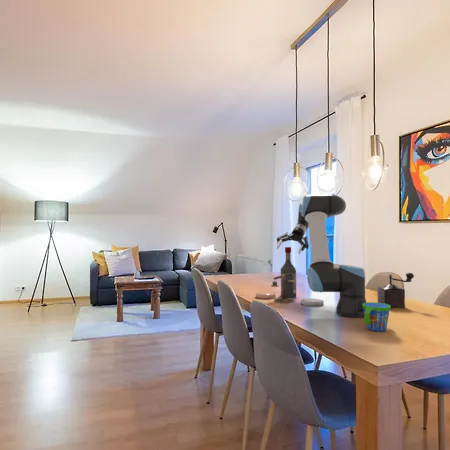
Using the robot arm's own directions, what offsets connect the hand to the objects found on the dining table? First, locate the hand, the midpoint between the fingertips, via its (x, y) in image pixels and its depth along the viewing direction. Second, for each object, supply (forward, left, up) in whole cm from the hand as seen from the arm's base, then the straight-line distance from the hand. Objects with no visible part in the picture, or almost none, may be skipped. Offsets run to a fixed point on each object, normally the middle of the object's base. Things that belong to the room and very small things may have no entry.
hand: (288, 249), depth 216 cm
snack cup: (-58, +45, -29) cm, 79 cm away
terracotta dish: (+12, +7, -29) cm, 32 cm away
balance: (-2, +13, -29) cm, 31 cm away
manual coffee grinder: (-58, -7, -29) cm, 65 cm away
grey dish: (-19, +12, -29) cm, 36 cm away
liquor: (+1, -2, -29) cm, 29 cm away
